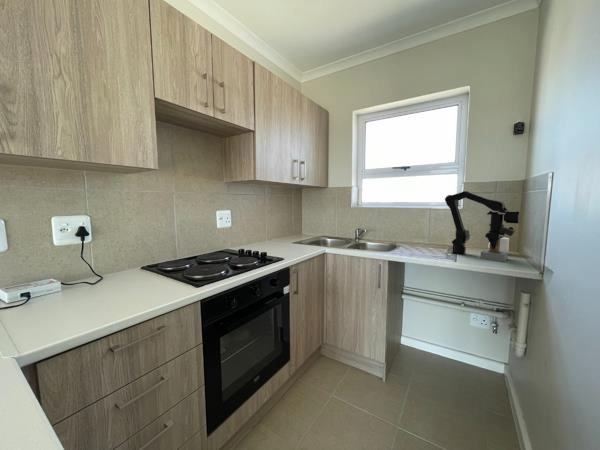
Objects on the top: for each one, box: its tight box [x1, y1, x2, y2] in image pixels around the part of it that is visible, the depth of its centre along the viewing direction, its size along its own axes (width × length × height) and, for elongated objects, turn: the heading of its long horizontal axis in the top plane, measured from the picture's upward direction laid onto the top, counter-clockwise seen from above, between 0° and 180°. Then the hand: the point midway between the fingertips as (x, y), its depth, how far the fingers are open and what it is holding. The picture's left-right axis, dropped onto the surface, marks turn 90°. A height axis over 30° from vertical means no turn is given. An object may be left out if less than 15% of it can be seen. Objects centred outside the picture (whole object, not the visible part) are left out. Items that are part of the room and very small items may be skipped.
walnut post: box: [489, 239, 500, 253], centre depth 146 cm, size 4×4×10 cm
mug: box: [487, 237, 510, 253], centre depth 161 cm, size 12×8×10 cm
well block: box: [480, 249, 509, 263], centre depth 147 cm, size 11×11×4 cm
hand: (494, 248), depth 147 cm, fingers closed on walnut post, 4 cm apart
